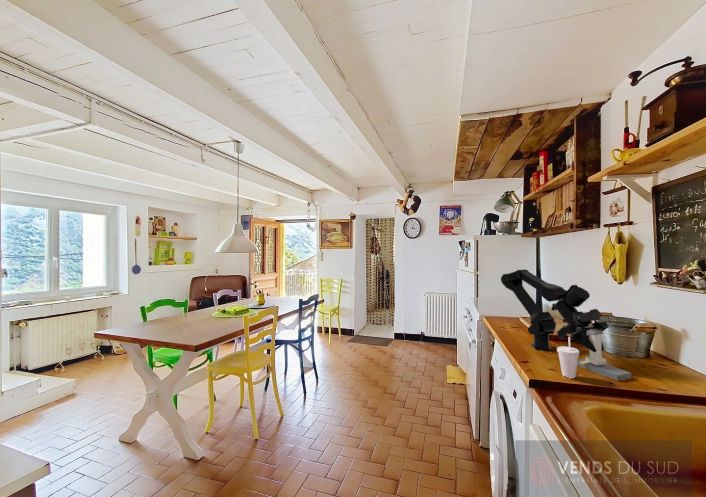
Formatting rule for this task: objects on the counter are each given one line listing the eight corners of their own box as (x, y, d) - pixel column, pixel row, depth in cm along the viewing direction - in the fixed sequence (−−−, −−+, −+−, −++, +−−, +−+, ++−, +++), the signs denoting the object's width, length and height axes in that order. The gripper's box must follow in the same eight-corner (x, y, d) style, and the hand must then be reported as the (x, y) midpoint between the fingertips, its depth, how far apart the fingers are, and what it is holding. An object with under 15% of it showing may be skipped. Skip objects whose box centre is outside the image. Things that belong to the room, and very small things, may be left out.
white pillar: (585, 361, 111) (584, 329, 111) (595, 359, 112) (594, 328, 112) (596, 365, 107) (595, 332, 107) (606, 363, 108) (605, 331, 108)
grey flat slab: (574, 365, 113) (573, 359, 113) (593, 362, 115) (593, 356, 115) (613, 382, 100) (613, 375, 100) (634, 378, 102) (634, 371, 102)
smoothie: (584, 381, 101) (583, 340, 101) (563, 380, 102) (561, 339, 102) (574, 373, 107) (573, 334, 107) (554, 372, 108) (552, 334, 108)
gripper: (562, 304, 111) (593, 343, 101) (603, 299, 115) (637, 337, 105) (545, 320, 119) (572, 358, 108) (584, 315, 123) (613, 352, 112)
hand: (599, 351), depth 108 cm, fingers closed on white pillar, 3 cm apart
